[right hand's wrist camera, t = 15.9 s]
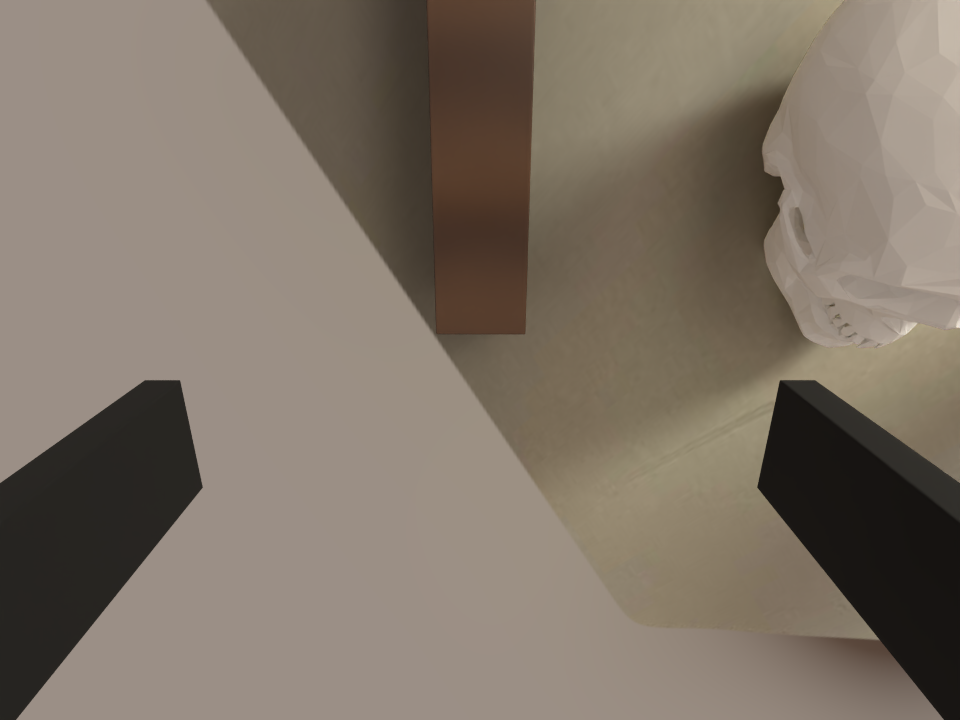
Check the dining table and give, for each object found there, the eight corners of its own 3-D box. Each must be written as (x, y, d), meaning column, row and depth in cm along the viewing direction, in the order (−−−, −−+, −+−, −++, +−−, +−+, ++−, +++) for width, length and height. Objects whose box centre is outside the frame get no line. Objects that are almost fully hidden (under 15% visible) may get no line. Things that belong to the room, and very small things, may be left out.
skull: (735, 354, 40) (897, 475, 25) (730, 3, 32) (960, -119, 17) (923, 321, 40) (1199, 425, 25) (964, -43, 32) (1403, -208, 17)
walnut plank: (433, -184, 29) (418, -294, 22) (528, -183, 29) (545, -294, 22) (444, 297, 39) (436, 334, 31) (516, 297, 39) (525, 334, 31)
